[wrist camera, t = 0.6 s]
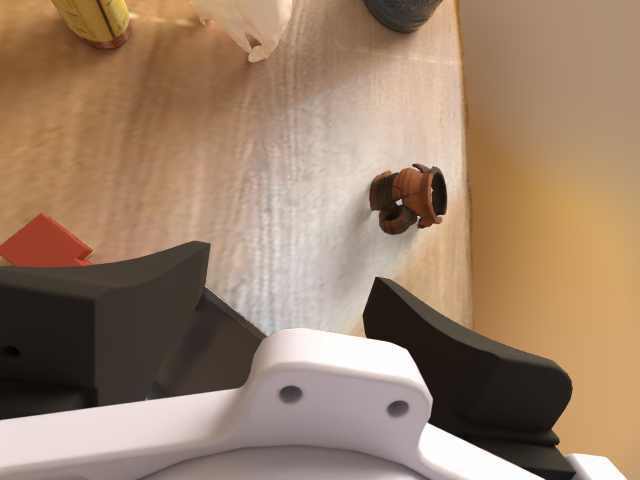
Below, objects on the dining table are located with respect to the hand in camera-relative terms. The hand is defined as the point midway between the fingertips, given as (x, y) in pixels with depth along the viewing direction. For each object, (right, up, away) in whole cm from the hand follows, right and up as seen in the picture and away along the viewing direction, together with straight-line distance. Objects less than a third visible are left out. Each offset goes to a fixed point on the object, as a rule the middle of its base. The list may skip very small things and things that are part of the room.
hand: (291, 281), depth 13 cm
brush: (-22, -2, +18) cm, 28 cm away
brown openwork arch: (+12, +6, +31) cm, 34 cm away
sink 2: (-11, -11, +20) cm, 25 cm away
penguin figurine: (-10, +28, +27) cm, 40 cm away
